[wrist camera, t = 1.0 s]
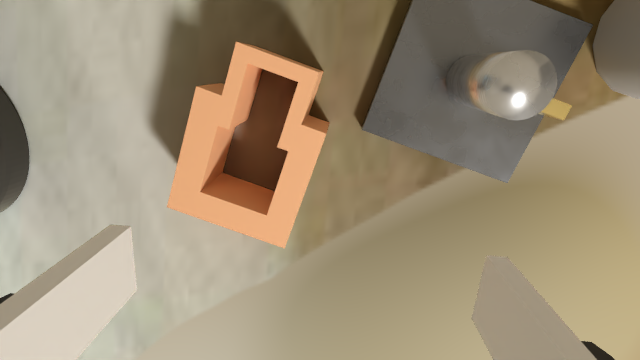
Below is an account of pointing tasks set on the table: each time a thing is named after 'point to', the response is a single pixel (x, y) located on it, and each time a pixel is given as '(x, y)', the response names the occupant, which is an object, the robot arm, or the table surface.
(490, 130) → the post base
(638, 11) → the cup
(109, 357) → the table surface
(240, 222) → the orange bottle-shaped mold
